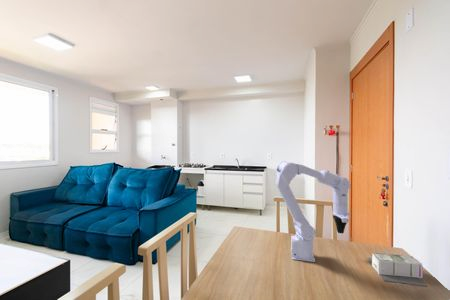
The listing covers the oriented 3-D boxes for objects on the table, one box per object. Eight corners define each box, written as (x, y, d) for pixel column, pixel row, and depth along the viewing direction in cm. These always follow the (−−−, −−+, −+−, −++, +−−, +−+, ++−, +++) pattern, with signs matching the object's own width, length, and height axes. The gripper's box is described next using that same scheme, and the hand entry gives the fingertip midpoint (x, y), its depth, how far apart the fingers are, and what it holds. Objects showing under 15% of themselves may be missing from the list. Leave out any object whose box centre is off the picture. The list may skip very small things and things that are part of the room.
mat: (384, 280, 76) (384, 280, 76) (366, 258, 92) (366, 257, 92) (427, 286, 73) (427, 285, 73) (401, 261, 88) (401, 261, 88)
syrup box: (378, 274, 80) (423, 279, 77) (379, 259, 79) (423, 263, 76) (371, 266, 85) (412, 269, 82) (371, 252, 85) (412, 255, 82)
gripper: (355, 208, 86) (355, 240, 86) (345, 199, 100) (345, 227, 100) (337, 207, 88) (337, 238, 88) (329, 198, 102) (329, 226, 102)
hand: (340, 232), depth 94 cm, fingers closed
